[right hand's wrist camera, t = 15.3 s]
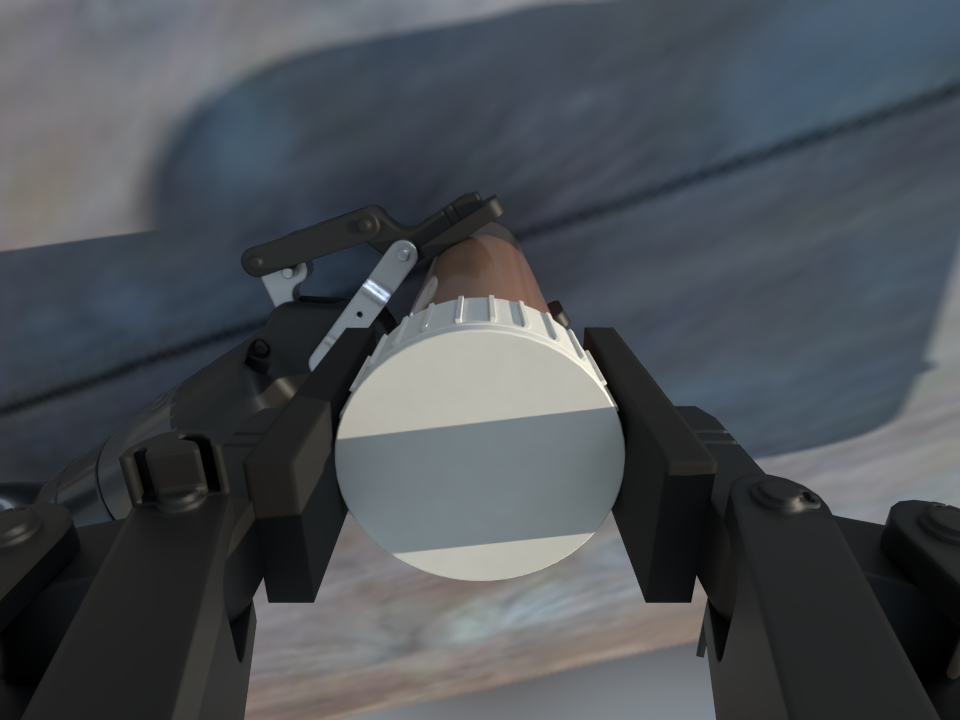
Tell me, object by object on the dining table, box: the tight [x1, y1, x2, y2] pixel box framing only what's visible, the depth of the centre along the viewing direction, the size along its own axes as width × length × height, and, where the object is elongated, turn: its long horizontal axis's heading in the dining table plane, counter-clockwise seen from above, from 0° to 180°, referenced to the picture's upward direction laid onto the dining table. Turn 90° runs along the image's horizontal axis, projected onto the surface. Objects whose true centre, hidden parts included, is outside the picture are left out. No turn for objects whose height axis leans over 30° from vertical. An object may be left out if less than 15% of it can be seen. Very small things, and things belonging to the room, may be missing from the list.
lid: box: [334, 295, 625, 581], centre depth 11 cm, size 6×6×2 cm
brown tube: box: [408, 221, 554, 320], centre depth 20 cm, size 5×5×19 cm
